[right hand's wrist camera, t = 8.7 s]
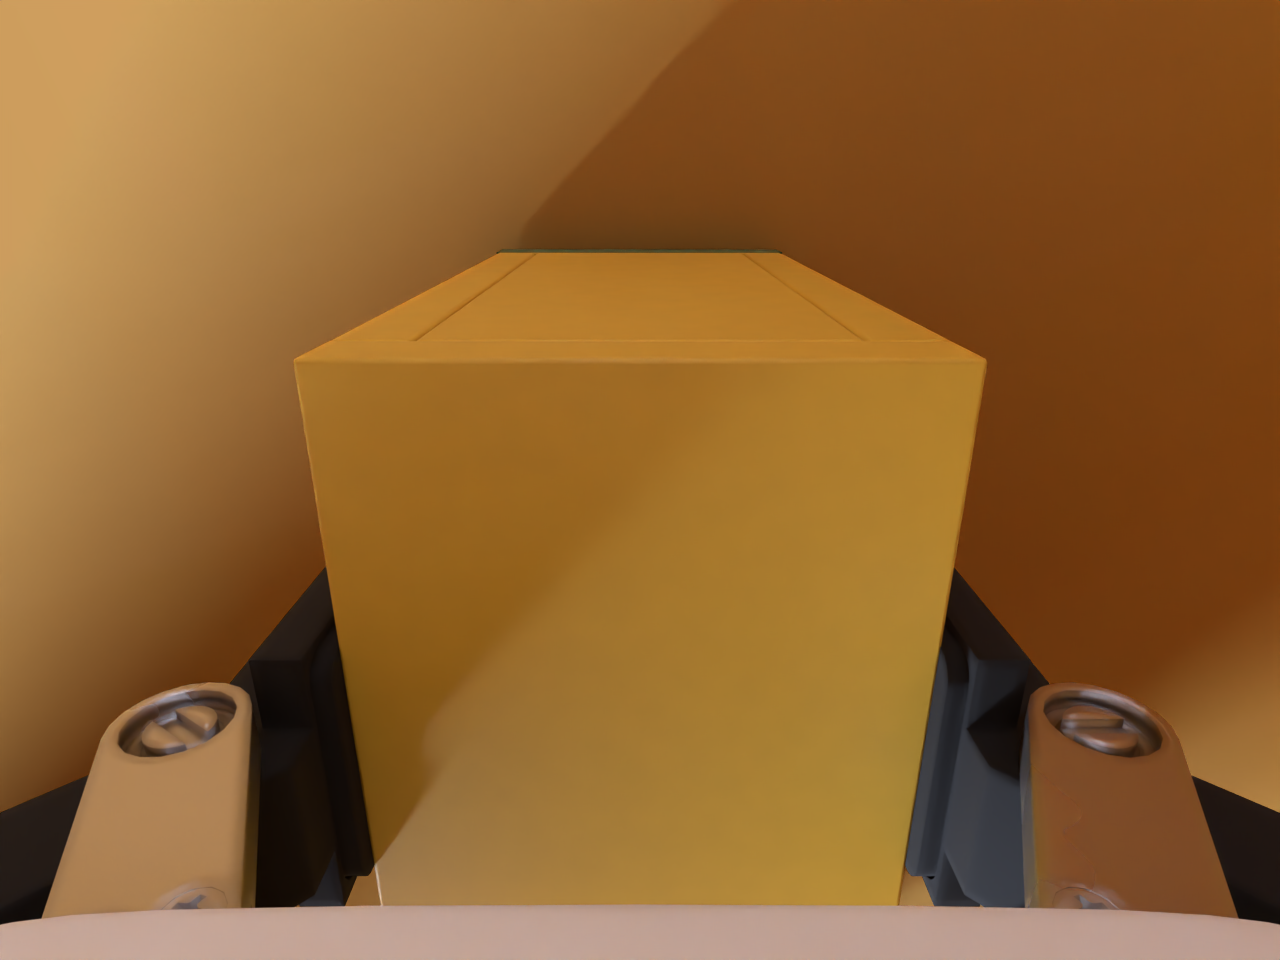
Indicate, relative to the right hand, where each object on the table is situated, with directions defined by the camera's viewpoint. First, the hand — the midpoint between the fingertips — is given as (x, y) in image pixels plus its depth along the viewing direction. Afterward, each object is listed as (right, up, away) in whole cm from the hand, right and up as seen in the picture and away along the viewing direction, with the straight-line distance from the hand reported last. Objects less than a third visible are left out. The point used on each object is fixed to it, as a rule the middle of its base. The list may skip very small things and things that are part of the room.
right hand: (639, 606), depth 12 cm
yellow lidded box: (0, -1, +9) cm, 9 cm away
